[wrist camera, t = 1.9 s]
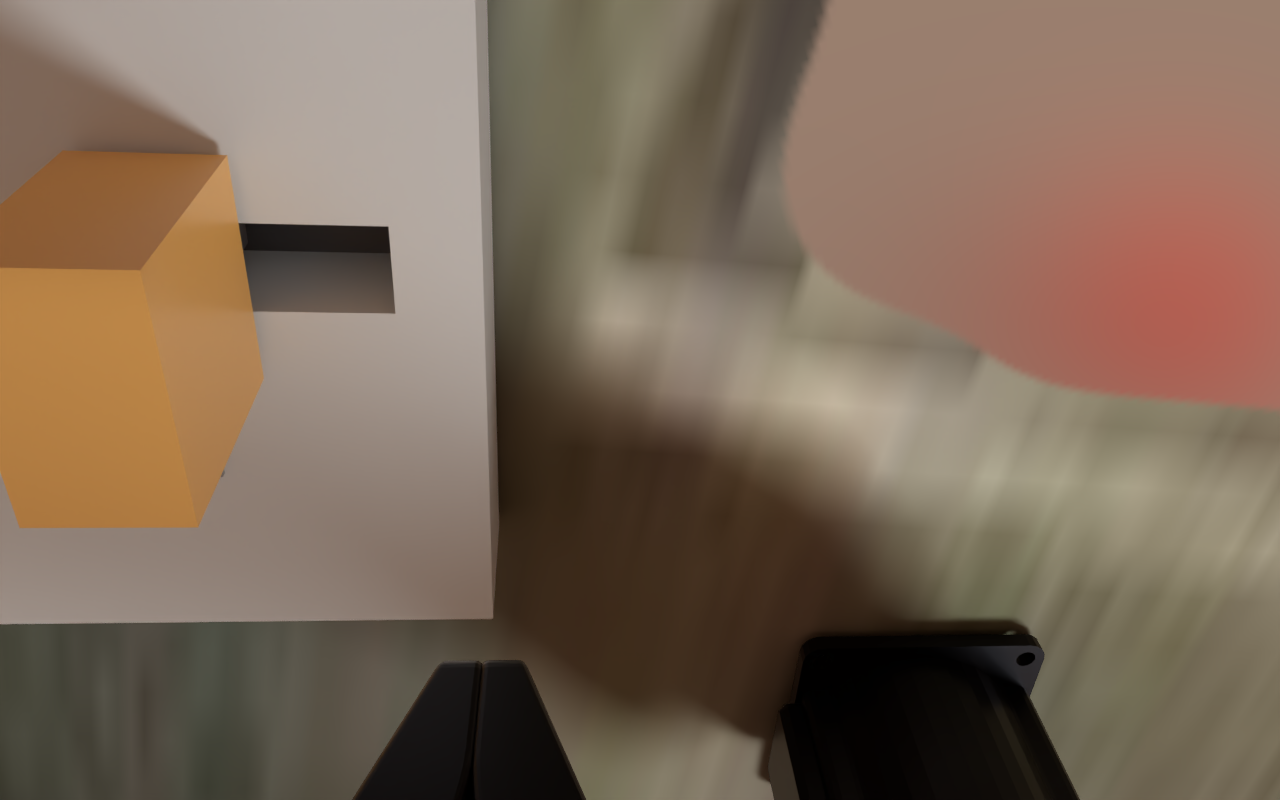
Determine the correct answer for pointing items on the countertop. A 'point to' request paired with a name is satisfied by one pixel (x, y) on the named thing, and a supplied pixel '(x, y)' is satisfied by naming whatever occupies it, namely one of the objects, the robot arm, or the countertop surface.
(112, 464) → the fader knob
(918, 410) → the countertop surface
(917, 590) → the countertop surface
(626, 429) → the countertop surface
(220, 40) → the console
